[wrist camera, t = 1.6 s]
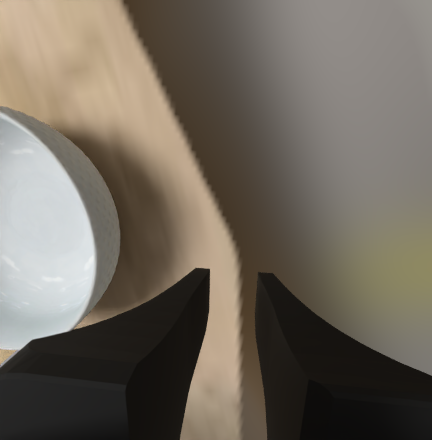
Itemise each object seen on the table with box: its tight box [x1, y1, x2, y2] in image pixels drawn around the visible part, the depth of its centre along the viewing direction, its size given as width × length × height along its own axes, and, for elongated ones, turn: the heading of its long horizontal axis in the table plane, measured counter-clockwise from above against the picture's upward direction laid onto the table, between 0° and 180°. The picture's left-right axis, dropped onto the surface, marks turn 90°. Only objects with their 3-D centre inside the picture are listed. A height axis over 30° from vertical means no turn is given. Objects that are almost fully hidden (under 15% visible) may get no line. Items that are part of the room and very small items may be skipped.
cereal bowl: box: [0, 106, 120, 350], centre depth 19 cm, size 17×17×7 cm
